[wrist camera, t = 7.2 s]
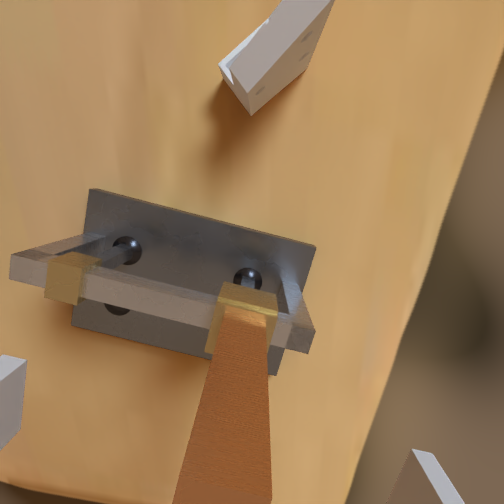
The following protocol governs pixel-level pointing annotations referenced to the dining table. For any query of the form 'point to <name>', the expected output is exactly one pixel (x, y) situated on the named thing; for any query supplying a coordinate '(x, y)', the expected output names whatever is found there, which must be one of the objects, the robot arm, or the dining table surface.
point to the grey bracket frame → (140, 287)
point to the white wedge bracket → (275, 52)
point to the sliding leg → (233, 405)
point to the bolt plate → (184, 266)
